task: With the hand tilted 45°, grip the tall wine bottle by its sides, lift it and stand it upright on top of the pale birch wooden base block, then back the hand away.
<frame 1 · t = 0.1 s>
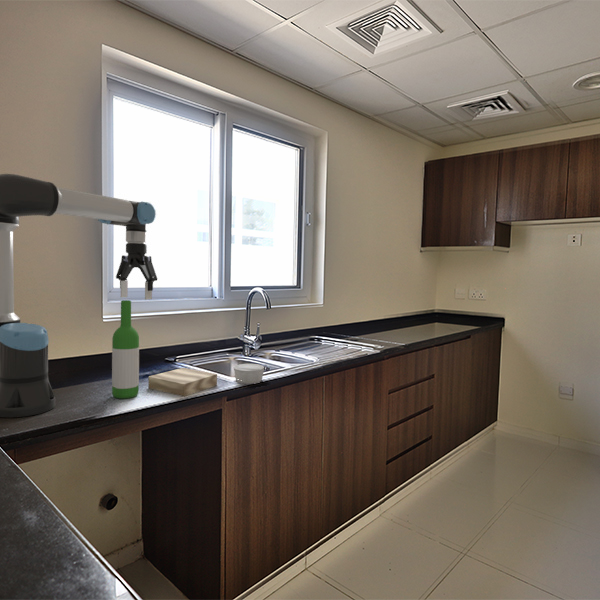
hand: (136, 298, 168), 28 cm above the counter, tool pointing down, fingers open, 13 cm apart
wine bottle: (125, 396, 136), on the counter
ramekin: (248, 381, 160), on the counter
birch base: (183, 386, 149), on the counter
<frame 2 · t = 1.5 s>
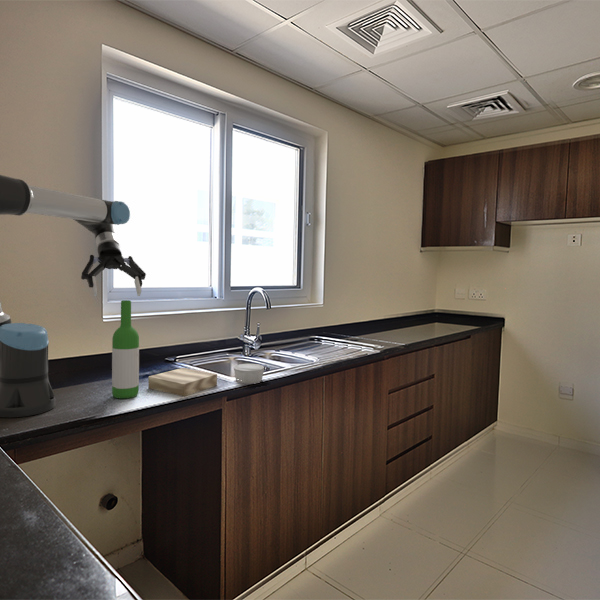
hand: (118, 293, 143), 31 cm above the counter, tool tilted 45°, fingers open, 13 cm apart
nothing on the counter moved.
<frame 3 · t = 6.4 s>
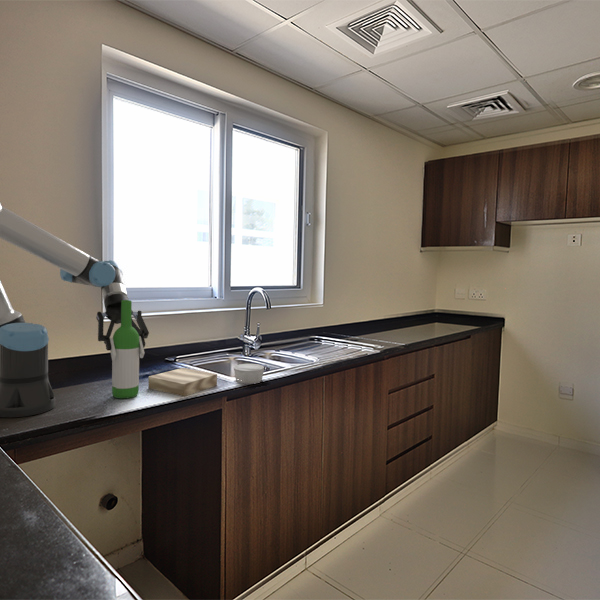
hand: (128, 356, 133), 13 cm above the counter, tool tilted 45°, fingers closed on wine bottle, 8 cm apart
wine bottle: (125, 396, 136), on the counter, touching gripper
everything else where it was.
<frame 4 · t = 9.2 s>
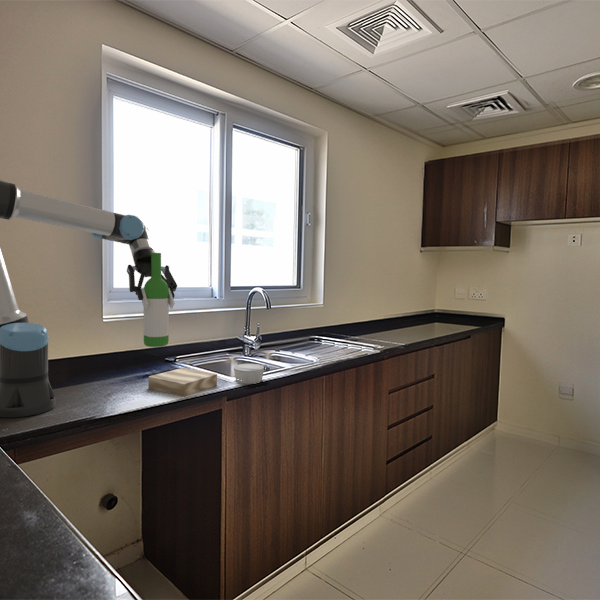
hand: (159, 306, 138), 28 cm above the counter, tool tilted 45°, fingers closed on wine bottle, 8 cm apart
wine bottle: (156, 345, 142), point 15 cm above the counter, touching gripper
everything else where it was.
when the fingers open (18 cm above the counter, at t = 12.3 s): wine bottle drops 1 cm, resting on birch base.
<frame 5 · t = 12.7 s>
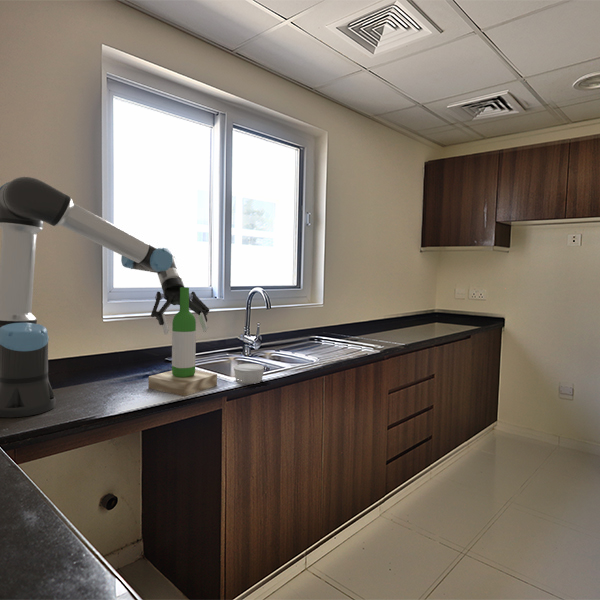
hand: (186, 330, 145), 20 cm above the counter, tool tilted 45°, fingers open, 13 cm apart
wine bottle: (183, 375, 148), point 4 cm above the counter, touching birch base
everything else where it was.
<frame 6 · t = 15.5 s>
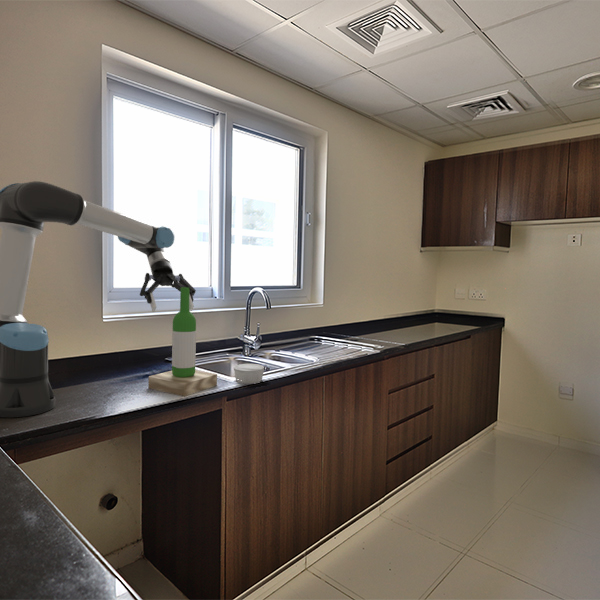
hand: (173, 309, 155), 26 cm above the counter, tool tilted 45°, fingers open, 13 cm apart
nothing on the counter moved.
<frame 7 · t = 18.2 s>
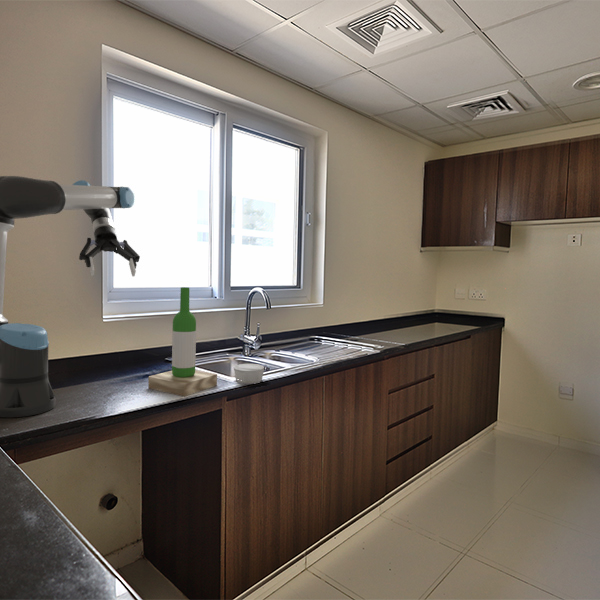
hand: (114, 273, 153), 38 cm above the counter, tool tilted 45°, fingers open, 13 cm apart
nothing on the counter moved.
at the end: wine bottle inside the target area on the birch base (0.0 cm from its centre), point 3.8 cm above the birch base's base; wine bottle tilted 0°; the gripper is holding nothing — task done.
